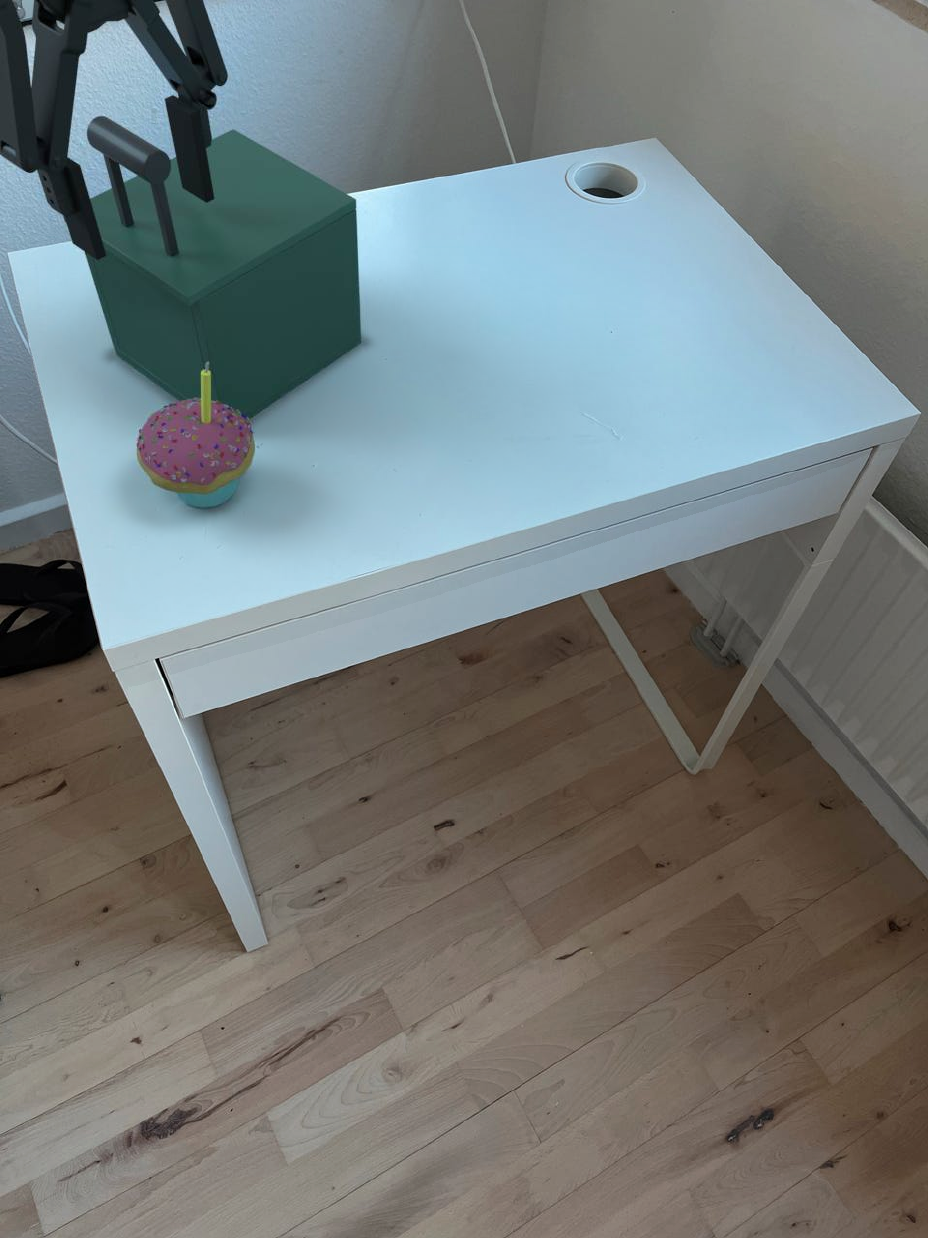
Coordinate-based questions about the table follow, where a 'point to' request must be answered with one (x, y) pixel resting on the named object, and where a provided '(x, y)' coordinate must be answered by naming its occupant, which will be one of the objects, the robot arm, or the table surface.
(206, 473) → the cupcake
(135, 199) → the cool box lid
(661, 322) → the table surface
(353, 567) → the table surface
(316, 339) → the cool box
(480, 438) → the table surface
